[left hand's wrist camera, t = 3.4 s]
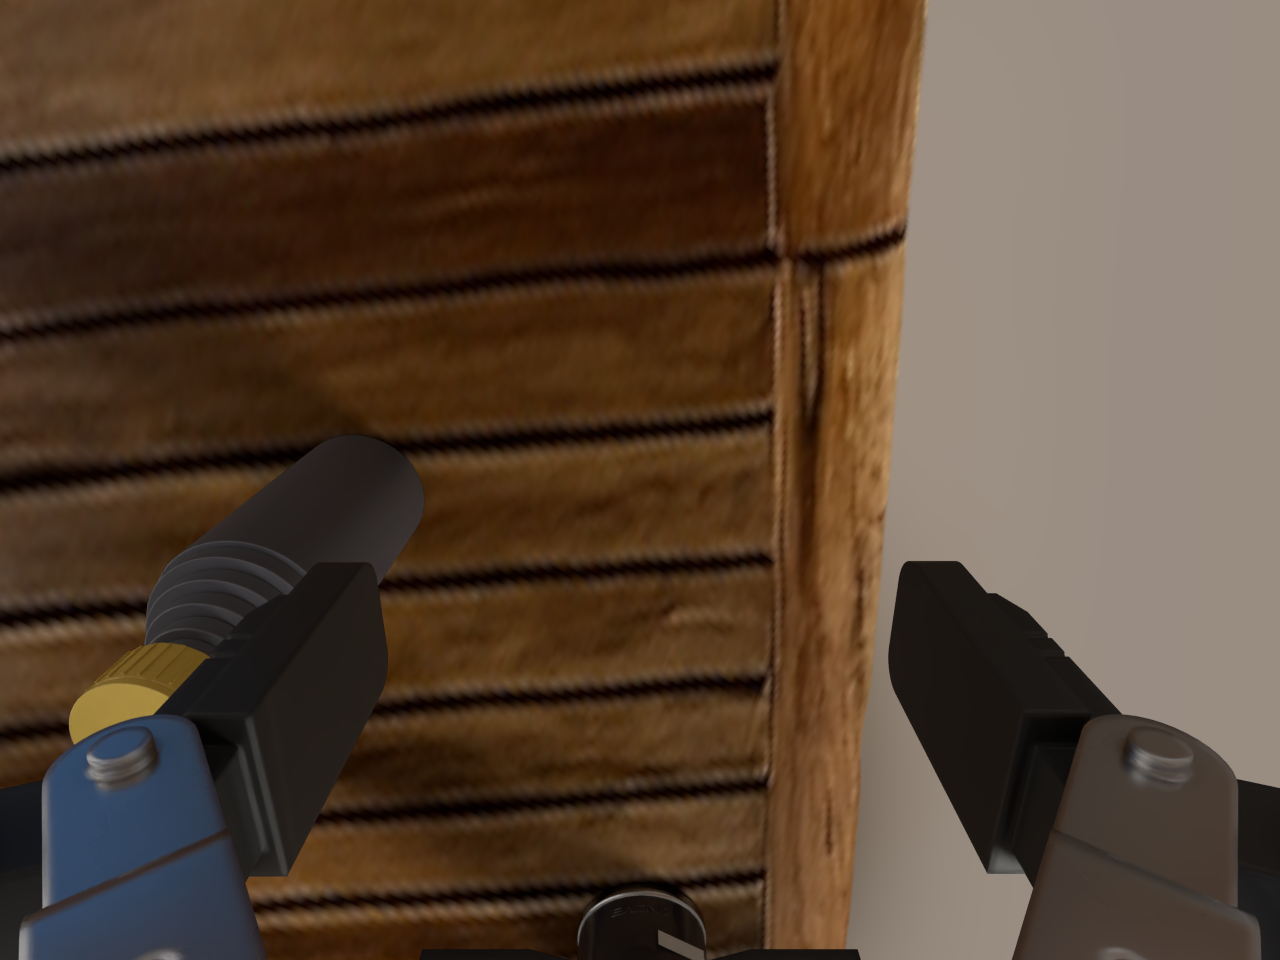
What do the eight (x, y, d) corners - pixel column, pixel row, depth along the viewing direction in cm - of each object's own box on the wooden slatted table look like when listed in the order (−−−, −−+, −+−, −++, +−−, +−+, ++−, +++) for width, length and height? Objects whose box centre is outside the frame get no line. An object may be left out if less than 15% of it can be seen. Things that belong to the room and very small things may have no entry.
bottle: (448, 483, 42) (297, 713, 24) (384, 572, 44) (199, 847, 26) (337, 409, 40) (81, 592, 22) (275, 504, 43) (-6, 746, 24)
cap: (263, 683, 25) (229, 728, 23) (208, 762, 27) (171, 811, 24) (146, 617, 24) (99, 658, 22) (94, 702, 26) (45, 748, 24)
